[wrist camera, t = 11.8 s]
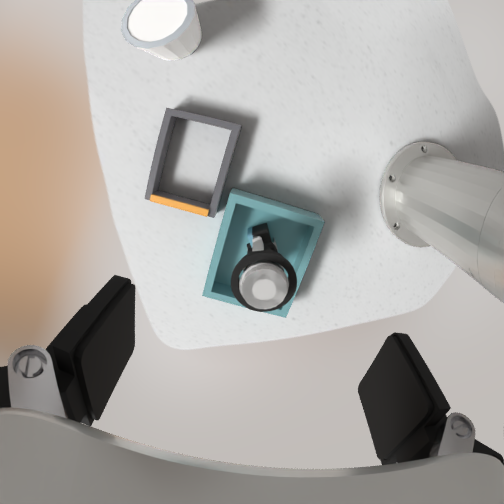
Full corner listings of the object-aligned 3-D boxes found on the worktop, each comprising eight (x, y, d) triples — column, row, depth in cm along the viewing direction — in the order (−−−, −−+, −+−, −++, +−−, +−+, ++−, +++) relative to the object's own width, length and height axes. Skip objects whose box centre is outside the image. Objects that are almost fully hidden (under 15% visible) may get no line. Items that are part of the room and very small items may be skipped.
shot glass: (142, 26, 23) (116, 4, 16) (200, 5, 22) (187, -24, 16) (152, 74, 25) (125, 60, 19) (214, 54, 25) (202, 32, 18)
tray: (318, 214, 31) (324, 221, 28) (283, 303, 35) (285, 317, 32) (232, 187, 30) (229, 192, 27) (206, 282, 34) (202, 295, 31)
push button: (295, 269, 33) (309, 320, 23) (250, 282, 33) (248, 337, 24) (278, 214, 30) (288, 249, 21) (230, 229, 31) (219, 269, 22)
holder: (241, 126, 27) (240, 124, 25) (216, 213, 31) (213, 218, 29) (172, 109, 27) (165, 107, 25) (151, 195, 30) (143, 199, 28)
